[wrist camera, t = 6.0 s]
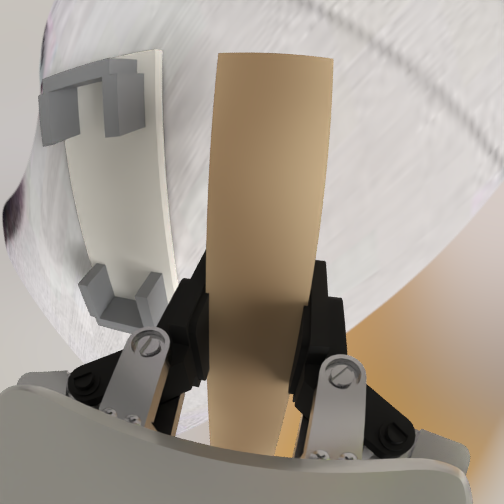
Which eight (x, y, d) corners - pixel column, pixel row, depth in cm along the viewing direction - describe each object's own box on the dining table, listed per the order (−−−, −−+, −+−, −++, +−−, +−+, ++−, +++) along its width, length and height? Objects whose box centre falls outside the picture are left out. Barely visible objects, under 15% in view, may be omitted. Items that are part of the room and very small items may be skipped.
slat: (321, 92, 10) (333, 58, 6) (278, 407, 15) (271, 463, 11) (244, 86, 10) (218, 53, 6) (227, 399, 15) (210, 453, 11)
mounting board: (162, 50, 14) (129, 44, 10) (182, 312, 25) (167, 345, 22) (69, 72, 15) (31, 77, 11) (109, 298, 26) (89, 326, 22)
